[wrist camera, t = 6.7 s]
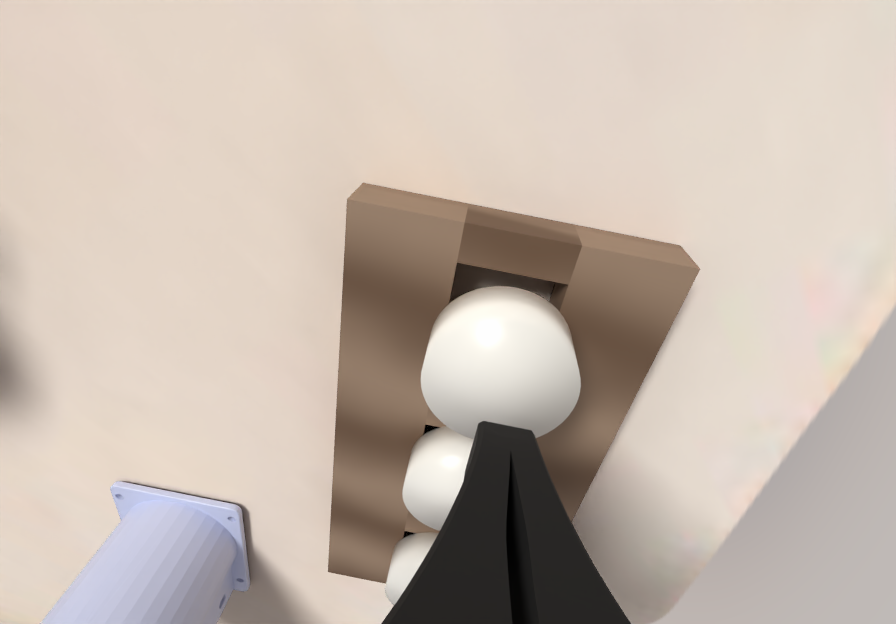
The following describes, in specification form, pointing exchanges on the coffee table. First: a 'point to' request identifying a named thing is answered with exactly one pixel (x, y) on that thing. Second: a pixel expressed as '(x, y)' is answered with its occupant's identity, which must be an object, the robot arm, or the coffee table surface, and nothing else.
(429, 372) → the knob near
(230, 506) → the robot arm
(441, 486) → the knob middle
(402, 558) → the knob far
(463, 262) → the brown wooden board
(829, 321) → the coffee table surface
